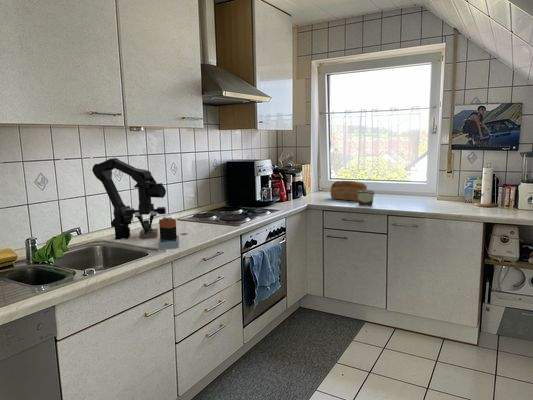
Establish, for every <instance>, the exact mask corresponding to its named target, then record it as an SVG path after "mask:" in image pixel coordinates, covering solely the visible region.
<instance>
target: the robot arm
mask: <svg viewBox="0 0 533 400" xmlns="http://www.w3.org/2000/svg"><path fill="white" fill-rule="evenodd" d="M114 169H115V170H118V171H120V172H122V173H124V174H126V175H128V176H129V177H130V178H131V179H132V181H134V182H136V184H134V186H133V188H135V189H137V192H138V207H137V208H138V209H135V207H133V208H131V206H130V205H126V204H124V202H123V200H122V198H121V197H122V196H121V195H120V193H119V191H118V189H117V187H116V185H115V182H114V180H113V170H114ZM91 170H92V173H93V175H94V176H95V178H96V179H97V180H98V181H100V182H101V184H102V185H103V187H104V189H105V192H106V193H107V196H108V199H109V200H110V203H111V204H112V207H113V219H112V220H111V222H110V225H111V228H114V240H122V239H123V240H125V239H129V238H130V236H131V227H129V225H131V223H132V220H133V218H137V219H138V221H139V223H140V225H141V227H142V228H141V229H144V222H143V221H144V217H143V216H144V215H146V216H147V215H149V228H151V226H152V225H153V224H152V223H153V220H154V217H157V215H166V214H167V208H166V206H157V207H156V208H155V206H154V205H155V204H154V203H152V198H157V199H160V198H161V199H163V198H164V197H165V196H166V194H167V190H166V187H165V186H164V185H163V182H160V183H159V182H158V183H157V181H156V180H155V178H154V176H153V175H152V172H151V171H149V170H146V169H142V168H137V167H134V166H133V165H131V164H128V163H126V162H124V161H121V160H120V159H118V157H117V158H116V157H115V158H109V159H107V160H104V161H102V162H100V163H95V164H94V165H93V166H92V169H91Z"/></svg>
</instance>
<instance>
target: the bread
mask: <svg viewBox="0 0 533 400" xmlns="http://www.w3.org/2000/svg"><path fill="white" fill-rule="evenodd" d="M360 190H368V188H367V185H366V184H365V183H363V182H361V181H356V180H355V181H354V180H337V181H335V182H333V183H332V184H331V186H330V197H331V199H334V200H345V201H354V202H358V194H357V192H358V191H360Z"/></svg>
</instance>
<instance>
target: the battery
mask: <svg viewBox="0 0 533 400" xmlns="http://www.w3.org/2000/svg"><path fill="white" fill-rule="evenodd" d="M158 225H159V238H160V239H164V240H173V239H176V238H177V235H178V234H177V233H178V232H177V220H176V219H175V218H173V217H170V216H169V217H167V216H166V217H165V216H163V217H162V218H161V219H159V220H158Z"/></svg>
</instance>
